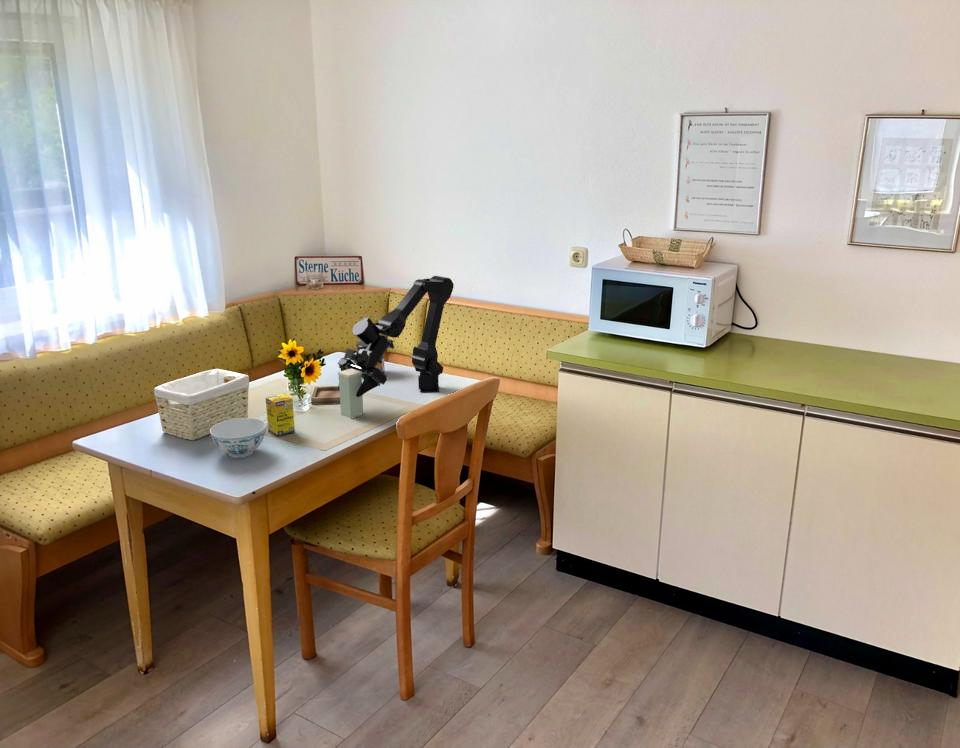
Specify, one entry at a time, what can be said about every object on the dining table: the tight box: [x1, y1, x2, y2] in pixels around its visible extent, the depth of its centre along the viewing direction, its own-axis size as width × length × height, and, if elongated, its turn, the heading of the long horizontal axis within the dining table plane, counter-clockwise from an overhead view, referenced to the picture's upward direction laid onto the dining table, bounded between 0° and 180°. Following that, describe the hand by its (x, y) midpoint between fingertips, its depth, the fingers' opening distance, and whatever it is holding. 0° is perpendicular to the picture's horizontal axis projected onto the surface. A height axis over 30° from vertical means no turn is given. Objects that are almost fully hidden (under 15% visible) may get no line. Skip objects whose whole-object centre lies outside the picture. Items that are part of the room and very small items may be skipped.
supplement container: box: [355, 340, 386, 379], centre depth 287 cm, size 10×10×12 cm
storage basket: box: [153, 368, 250, 441], centre depth 239 cm, size 24×16×15 cm
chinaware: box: [209, 417, 267, 458], centre depth 220 cm, size 15×15×8 cm
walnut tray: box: [310, 385, 340, 405], centre depth 265 cm, size 12×12×2 cm
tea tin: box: [337, 368, 364, 419], centre depth 248 cm, size 5×5×14 cm
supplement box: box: [265, 393, 296, 438], centre depth 234 cm, size 6×6×11 cm
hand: (347, 393), depth 247 cm, fingers open, 9 cm apart
